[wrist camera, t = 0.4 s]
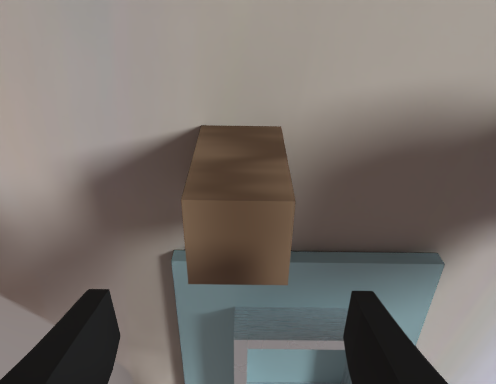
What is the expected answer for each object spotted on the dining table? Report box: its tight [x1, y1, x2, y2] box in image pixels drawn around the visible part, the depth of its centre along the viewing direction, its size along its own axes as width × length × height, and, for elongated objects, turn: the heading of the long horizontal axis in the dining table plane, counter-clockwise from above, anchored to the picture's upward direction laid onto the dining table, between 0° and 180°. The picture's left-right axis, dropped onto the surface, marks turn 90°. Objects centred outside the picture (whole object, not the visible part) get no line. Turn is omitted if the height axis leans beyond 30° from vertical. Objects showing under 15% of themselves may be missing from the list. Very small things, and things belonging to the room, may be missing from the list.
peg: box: [181, 125, 295, 285], centre depth 18 cm, size 4×4×7 cm
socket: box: [234, 307, 352, 384], centre depth 26 cm, size 9×9×2 cm
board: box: [171, 250, 445, 384], centre depth 28 cm, size 16×16×1 cm
